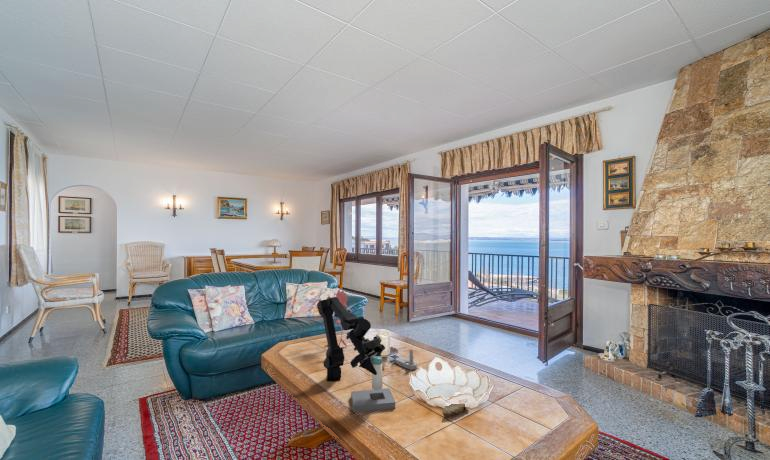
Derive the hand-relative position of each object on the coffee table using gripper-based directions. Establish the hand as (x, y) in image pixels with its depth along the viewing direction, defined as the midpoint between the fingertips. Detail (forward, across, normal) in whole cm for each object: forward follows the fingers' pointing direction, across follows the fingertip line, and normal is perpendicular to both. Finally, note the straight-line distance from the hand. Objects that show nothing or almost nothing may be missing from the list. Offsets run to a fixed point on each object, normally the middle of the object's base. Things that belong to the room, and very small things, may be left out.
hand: (379, 372), depth 148 cm
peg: (+4, 0, +6) cm, 7 cm away
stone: (+30, +10, -11) cm, 34 cm away
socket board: (+7, -2, +11) cm, 13 cm away
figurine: (-36, +48, +55) cm, 81 cm away
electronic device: (+1, +42, +18) cm, 45 cm away
